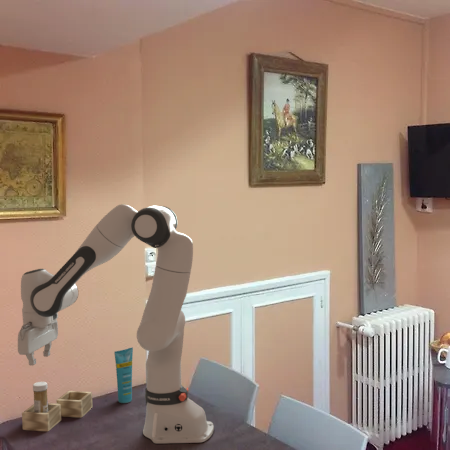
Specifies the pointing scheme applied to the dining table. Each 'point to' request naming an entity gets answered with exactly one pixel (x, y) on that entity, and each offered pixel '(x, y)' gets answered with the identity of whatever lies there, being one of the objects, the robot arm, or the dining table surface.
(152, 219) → the robot arm
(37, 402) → the sprinkles bottle
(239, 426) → the dining table surface
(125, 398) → the tube
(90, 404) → the open wooden box
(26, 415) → the open square wooden box
